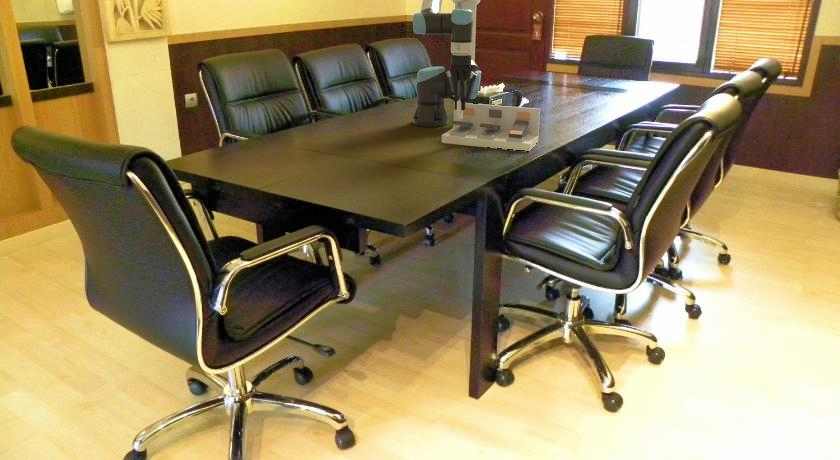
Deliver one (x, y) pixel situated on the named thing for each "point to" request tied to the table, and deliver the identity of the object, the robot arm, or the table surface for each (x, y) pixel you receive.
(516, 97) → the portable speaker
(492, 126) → the switch
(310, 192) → the table surface
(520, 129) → the switch
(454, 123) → the switch
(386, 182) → the table surface
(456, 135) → the switch unit
